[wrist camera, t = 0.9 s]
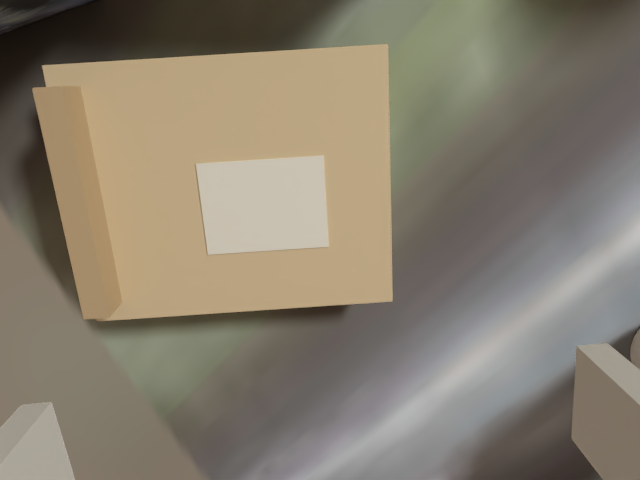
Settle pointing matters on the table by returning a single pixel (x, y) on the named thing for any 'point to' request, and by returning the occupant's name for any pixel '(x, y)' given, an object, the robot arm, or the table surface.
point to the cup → (635, 350)
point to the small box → (32, 11)
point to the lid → (223, 180)
